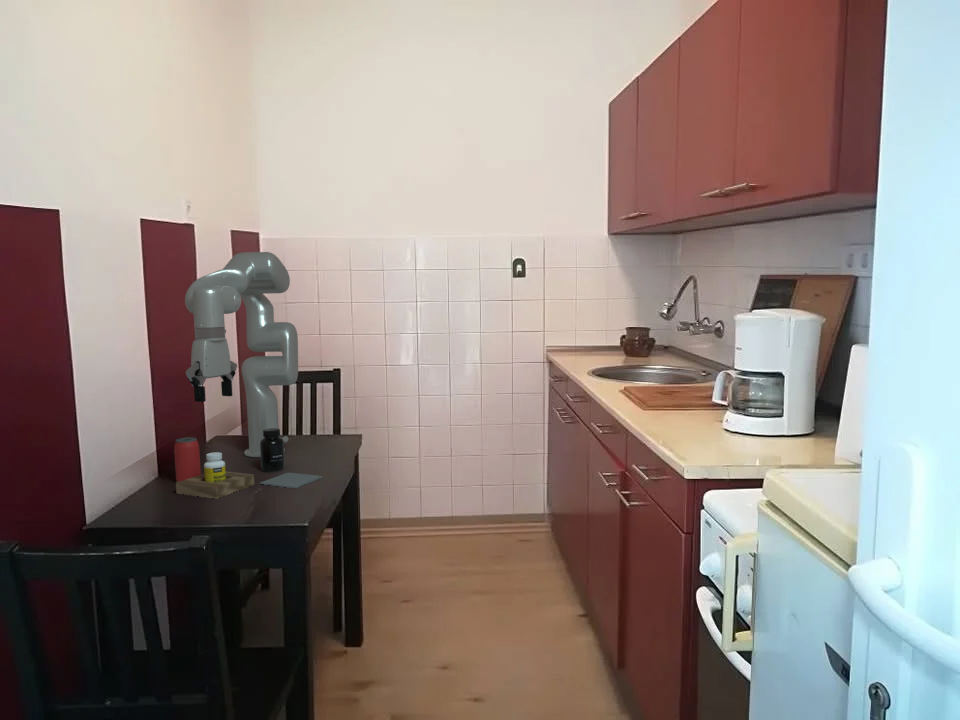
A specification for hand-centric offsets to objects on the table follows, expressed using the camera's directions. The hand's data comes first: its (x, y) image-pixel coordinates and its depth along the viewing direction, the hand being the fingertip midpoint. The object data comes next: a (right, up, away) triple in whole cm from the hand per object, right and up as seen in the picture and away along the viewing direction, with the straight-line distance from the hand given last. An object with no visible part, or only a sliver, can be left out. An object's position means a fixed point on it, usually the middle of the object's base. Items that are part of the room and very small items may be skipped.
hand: (214, 398), depth 202 cm
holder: (0, -25, +3) cm, 25 cm away
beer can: (-11, -24, +12) cm, 29 cm away
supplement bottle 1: (0, -25, +3) cm, 25 cm away
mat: (+18, -23, +10) cm, 31 cm away
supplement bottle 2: (+9, -22, +24) cm, 34 cm away
